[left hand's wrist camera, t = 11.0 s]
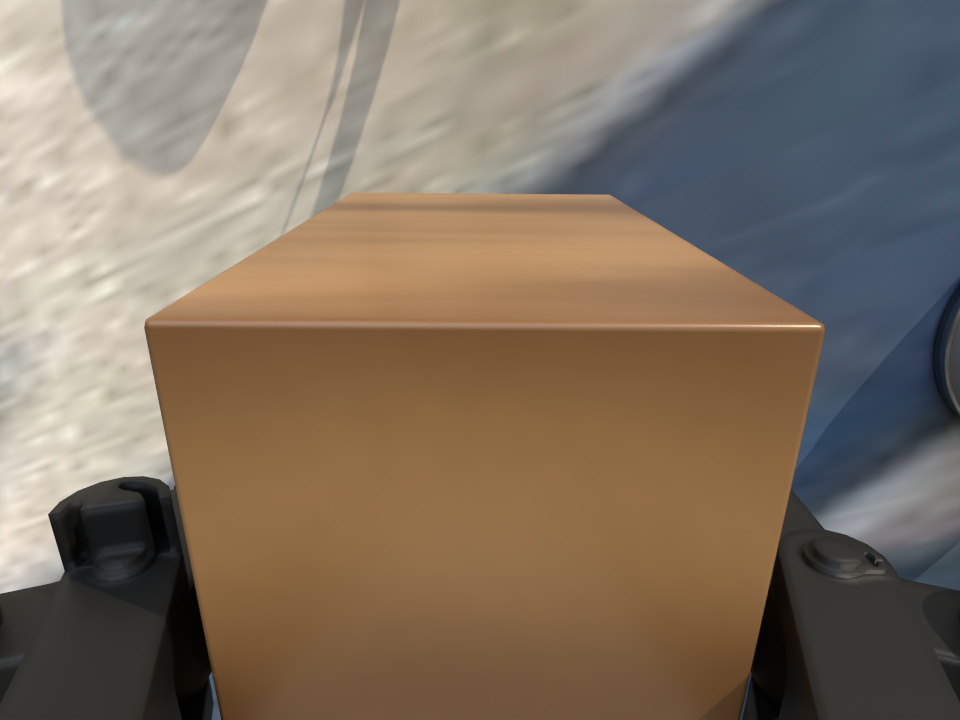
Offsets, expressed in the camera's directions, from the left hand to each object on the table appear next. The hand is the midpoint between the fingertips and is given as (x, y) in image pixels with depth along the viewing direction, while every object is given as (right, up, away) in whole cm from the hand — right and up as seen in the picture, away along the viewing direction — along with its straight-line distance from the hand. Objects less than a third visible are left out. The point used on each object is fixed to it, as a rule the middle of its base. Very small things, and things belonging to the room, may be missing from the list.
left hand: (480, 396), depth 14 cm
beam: (0, -33, +14) cm, 36 cm away
